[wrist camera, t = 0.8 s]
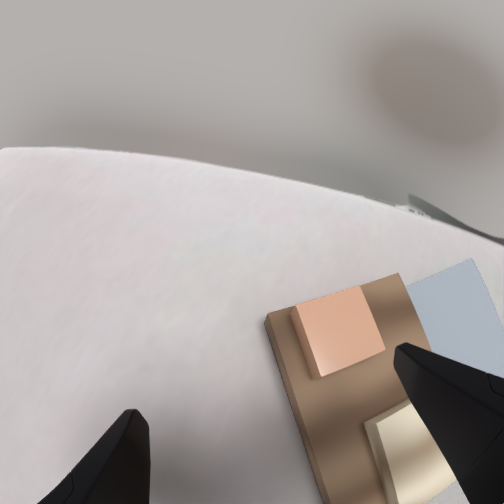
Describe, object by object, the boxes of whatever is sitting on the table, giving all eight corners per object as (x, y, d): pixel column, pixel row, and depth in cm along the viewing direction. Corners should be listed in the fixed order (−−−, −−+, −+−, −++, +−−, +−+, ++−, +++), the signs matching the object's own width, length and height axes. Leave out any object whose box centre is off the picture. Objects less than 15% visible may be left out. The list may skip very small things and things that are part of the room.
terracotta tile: (373, 355, 18) (386, 349, 17) (312, 379, 17) (321, 376, 16) (349, 295, 21) (359, 285, 19) (289, 314, 20) (295, 304, 18)
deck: (446, 465, 15) (463, 467, 13) (334, 532, 12) (344, 543, 10) (385, 284, 24) (398, 272, 22) (264, 322, 22) (267, 313, 20)
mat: (517, 385, 18) (519, 385, 18) (448, 455, 15) (450, 455, 15) (470, 258, 26) (471, 257, 26) (393, 292, 24) (395, 291, 23)
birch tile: (446, 472, 13) (461, 474, 11) (389, 512, 12) (402, 518, 10) (424, 387, 17) (439, 384, 15) (363, 422, 16) (376, 423, 14)
